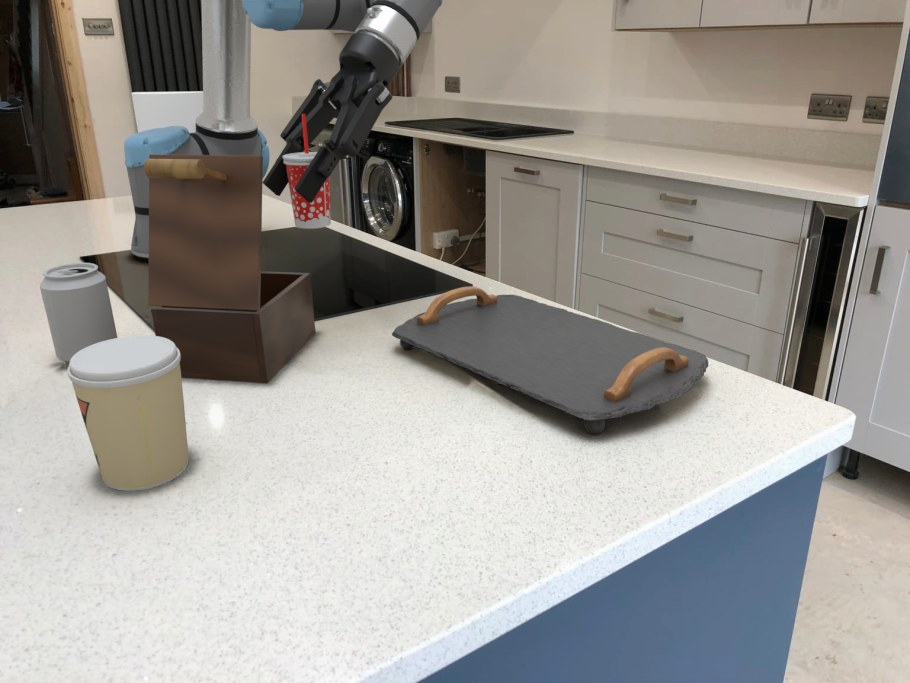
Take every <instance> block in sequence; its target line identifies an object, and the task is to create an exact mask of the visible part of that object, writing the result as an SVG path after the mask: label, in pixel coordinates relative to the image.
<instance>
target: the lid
mask: <svg viewBox="0 0 910 683" xmlns="http://www.w3.org/2000/svg"><path fill="white" fill-rule="evenodd" d="M144 172H145V174H146V176H147V177H148V178H149V262H148V293H147V294H148V295H147V296H148V298H147V299H148V304H147V305H148V306H150V307H151V306H152V307H155V306H170V307H190V308H211V309H232V310H252V311H260V288H261V271H262V232H263V231H262V230H263V229H262V226H263V183H262V182H263V179H264V178H263V157H262V156H242V155H155V154H150V155H149V159H147V160H146V161H145V163H144ZM262 178H263V179H262Z"/></svg>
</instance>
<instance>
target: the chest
mask: <svg viewBox="0 0 910 683" xmlns="http://www.w3.org/2000/svg"><path fill="white" fill-rule="evenodd" d="M311 277H312V276H311V273H310V272H289V271H268V270H267V271H265V270H264V271H263V270H261V288H260V311H252V310H232V309H211V308H190V307H170V306H153V307H152V308H151V309H150V311H151V312H150V313H151V318H152V323H153V329H154V334H155V335H154V336H159V337H163V338H167V339H169V340H171V341H172V342H173V343H174V344H175V346H176V347H177V348H178V349H179V351H180V356H181V359H180V369H181V378H182V379H192V380H207V381H220V382H221V381H222V382H236V383H238V382H240V383H253V384H266V385H267V384H269V383H270V382H271V381H272V380H273V379H274V378H275V376H276V375H277V374H279V372H280V371H282V369H284V367H285V366H286V365H287V364H288V363H289V362H290V361H291V360H292V359H293V358H294V357H295V355H296V354H298V353H299V352H300V350H302V348H303V347H304V346H305V345H306V344H307V343H308V342H309V341H310V340H311V339H312V338H313V337H314V336H315V335H316V334H317V332H316V321H315V313H314V312H315V311H314V301H313V300H314V299H313V290H312V279H311Z"/></svg>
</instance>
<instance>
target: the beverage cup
mask: <svg viewBox="0 0 910 683" xmlns="http://www.w3.org/2000/svg"><path fill="white" fill-rule="evenodd" d="M302 124H303V136H304V147H305V150H304V151H303V152H300V153H291V154H286V155H284V156H283V159H284V162H283V163H285V164H286V170H287V176H288V187H289V196H290V200H291V207H292V213H293V218H294V219H293V220H294V225H295V227H296V228H299V229H306V230H307V229H308V230H310V229H322V228H326V227H329V226H330V225H331V224H332V223H331V222H332V221H331V220H332V218H331V216H332V214H331V175H330V176H329V177H328V178H327V179H326V181H325V182H324V184H323V186H322V187H321V189H320V190H319V192H318V194H317V195H316V197H315V198H314V200H313V202H312V203H310V202H308V201H306V200H305V199H304V198H303V197H302V196H301V195H300V194H299V193H298V192H297V191H296V190H295V189H294V188H295V187H296V185H297V183H298V182H299V180H300V179H301V177H302V176H303V174H304V172H305V171H306V169H307V168H308V166H309V165H310V163H311V161H312V160H313V158H314V157H315V155H316V154H317V152H318V151H310V150H309V146H308V138H307V126H306V115H305V114H302Z"/></svg>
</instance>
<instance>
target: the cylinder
mask: <svg viewBox="0 0 910 683" xmlns="http://www.w3.org/2000/svg"><path fill="white" fill-rule="evenodd" d="M130 95H131V100H132V106H133V111H134V118H135V123H136V129H137V133H139V132H142V131H146V130H151V129H156V128H165V127H170V126H183V127H186V128H187V130H188V131H189V133H195V131H196V118H197V117H198V116H199V115H200V114H201V113H202V112H203V111H204V108H203V90H200V91H199V90H198V91H196V90H195V91H134V92H131V94H130Z"/></svg>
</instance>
